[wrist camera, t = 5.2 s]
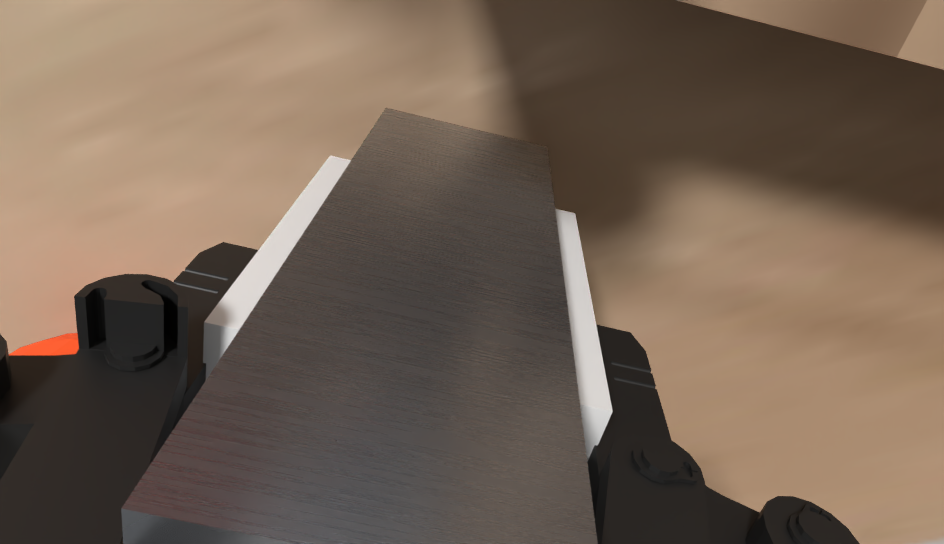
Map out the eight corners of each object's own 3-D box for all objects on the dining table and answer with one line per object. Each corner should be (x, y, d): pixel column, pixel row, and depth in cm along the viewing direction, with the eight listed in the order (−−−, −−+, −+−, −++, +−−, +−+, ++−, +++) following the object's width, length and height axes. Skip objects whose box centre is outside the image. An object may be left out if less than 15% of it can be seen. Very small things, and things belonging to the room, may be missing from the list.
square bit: (362, 251, 18) (135, 754, 7) (386, 107, 16) (120, 508, 5) (506, 284, 18) (491, 818, 7) (547, 147, 16) (604, 605, 5)
